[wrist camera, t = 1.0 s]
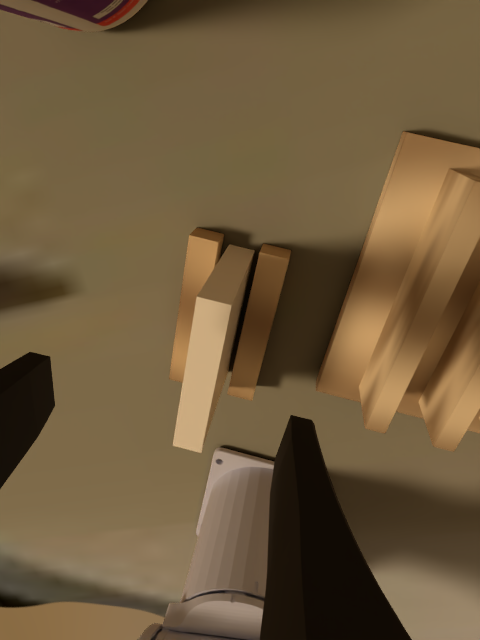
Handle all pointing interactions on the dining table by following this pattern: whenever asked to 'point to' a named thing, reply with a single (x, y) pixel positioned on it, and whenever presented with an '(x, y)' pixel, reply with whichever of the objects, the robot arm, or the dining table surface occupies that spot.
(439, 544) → the dining table surface
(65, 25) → the pill bottle
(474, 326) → the rack
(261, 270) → the stand
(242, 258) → the upright beige panel
